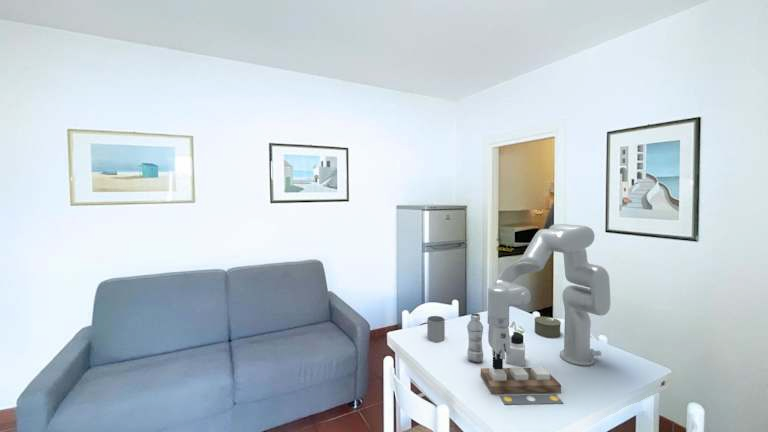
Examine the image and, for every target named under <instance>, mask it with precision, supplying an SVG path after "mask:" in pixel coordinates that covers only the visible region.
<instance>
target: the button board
mask: <svg viewBox="0 0 768 432" xmlns="http://www.w3.org/2000/svg"><path fill="white" fill-rule="evenodd" d="M489 368H490V367H489ZM489 368H488V367H487V368H486V367H484V368H483V367H482V368H480V378H481V379H482V380H483V382H484V384H485V386H486V388H487V390H488V392H489V393H490V394H491V395H545V394H562V384H561V383H560V382H559V381H558V380H557V379H556V378H555V377H554V376H553V375H552V374H551V373H550V372H549V371H548V373H549V374H550V380H536V379H535V378H534V377H533V375H532V374H531V367H522V368H523V369H524V370H525V371H526V372H527V373H528V380H514V379H513V377H512V376H511V375H510V368H511V367H503V370H504V372H505V373H506V375H507V381H493V380H492V378H491V377H490V375H489Z"/></svg>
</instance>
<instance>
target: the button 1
mask: <svg viewBox="0 0 768 432" xmlns="http://www.w3.org/2000/svg"><path fill="white" fill-rule="evenodd" d="M489 375H490V377H491V378H492V380H493V381H507V375H506V373H505V372H504V370H503V369H497V370H495V369H494V368H493V367H489Z"/></svg>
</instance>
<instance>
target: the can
mask: <svg viewBox="0 0 768 432" xmlns="http://www.w3.org/2000/svg"><path fill="white" fill-rule="evenodd" d="M561 323H562V322H561V321H560V320H559V319H556V318H554V317H551V316H536V317H534V334H536V335H537V336H539V337H542V338H545V339H560V336H561Z"/></svg>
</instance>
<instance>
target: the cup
mask: <svg viewBox="0 0 768 432" xmlns="http://www.w3.org/2000/svg"><path fill="white" fill-rule="evenodd" d="M426 322H427V327H426V328H427V336H426V337H427V340H428V341H429V342H430V343H431V342H432V343H443V342H444V341H445V338H446V336H445V334H446V333H445V331H446V330H445V325H446V322H445V318H444V317H442V316H438V315H431V316H430V315H429V316H428V317H427V319H426Z"/></svg>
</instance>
